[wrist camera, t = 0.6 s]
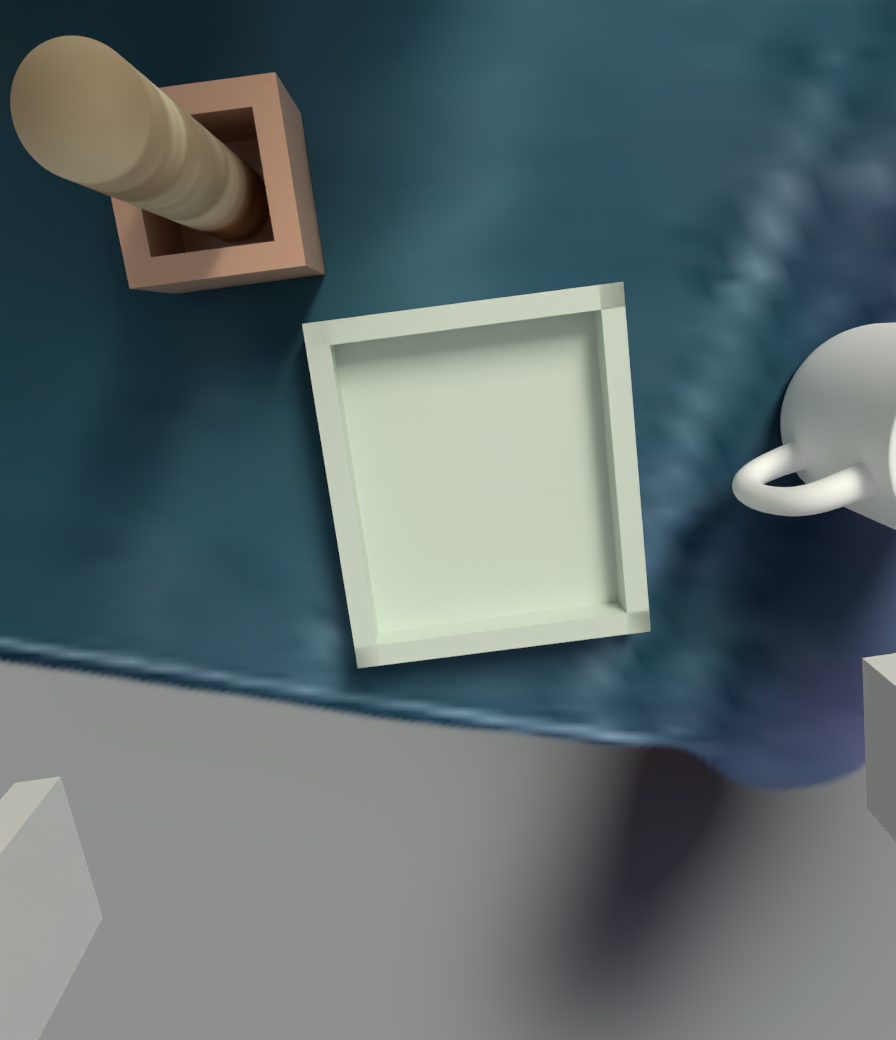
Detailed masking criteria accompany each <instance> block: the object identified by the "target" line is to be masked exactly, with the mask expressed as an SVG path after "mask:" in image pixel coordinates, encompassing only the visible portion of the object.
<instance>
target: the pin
mask: <svg viewBox="0 0 896 1040" xmlns="http://www.w3.org/2000/svg"><path fill="white" fill-rule="evenodd" d="M10 107H11V115H12V120H13V124H14V127H15V130H16V132H17V135H18V137H19V139H20V141H21V142H22V144H23V146H24V147H25V149H26V150H27V151H28V153H29V154H30V155H31V156H32V157H33V158H34V159H35V161H37V162H38V163H39V164H40V165H41V166H42V167H44V168H45V169H47V170H48V171H50V172H52V173H54V174H56V175H57V176H60V177H62V178H65V179H67V180H70V181H72V182H75V183H78V184H80V185H83V186H85V187H88V188H90V189H93V190H95V191H98V192H100V193H103V194H106V195H108V196H111V197H113V198H116V199H118V200H121V201H123V202H126V203H129V204H131V205H134V206H136V207H139V208H141V209H144V210H146V211H149V212H152V213H154V214H157V215H159V216H162V217H164V218H167V219H169V220H172V221H174V222H177V223H180V224H182V225H185V226H187V227H190V228H192V229H195V230H197V231H200V232H203V233H205V234H208V235H210V236H213V237H215V238H218V239H221V240H223V241H228V242H240V241H245V240H247V239H250V238H252V237H253V236H255V235H256V234H257V233H258V232H259V231H260V230H261V229H262V228H263V227H264V225H265V223H266V221H267V219H268V216H269V212H270V211H269V205H268V199H267V192H266V186H265V182H264V181H263V179H262V178H261V177H260V175H259V174H258V173H257V172H256V171H255V170H253V169H252V168H251V167H250V166H249V165H248V164H246V163H245V162H244V161H243V160H242V159H241V158H239V157H238V156H237V155H236V154H235V153H234V152H232V151H231V150H230V149H229V148H228V147H227V146H225V145H224V144H223V143H222V142H221V141H220V140H218V139H217V138H216V137H215V136H214V135H213V134H211V133H210V132H209V131H208V130H207V129H206V128H204V127H203V126H202V125H201V124H200V123H199V122H197V121H196V120H195V119H194V118H193V117H192V116H190V115H189V114H188V113H187V112H186V111H185V110H183V109H182V108H181V107H180V106H179V105H178V104H176V103H175V102H174V101H173V100H172V99H171V98H169V97H168V96H167V95H166V94H165V93H164V92H162V91H161V90H160V89H159V88H158V87H157V86H155V85H154V84H153V83H152V82H151V81H150V80H148V79H147V78H146V77H145V76H144V75H143V74H141V73H140V72H139V71H138V70H137V69H136V68H134V67H133V66H132V65H131V64H130V63H129V62H127V61H126V60H125V59H124V58H123V57H122V56H120V55H119V54H118V53H117V52H116V51H114V50H113V49H111V48H110V47H109V46H107V45H105V44H103V43H101V42H99V41H97V40H94V39H91V38H87V37H83V36H61V37H57V38H53V39H50V40H48V41H46V42H44V43H42V44H40V45H38V46H37V47H36V48H35V49H33V50H32V51H31V52H30V53H29V54H28V55H27V56H26V57H25V59H24V60H23V61H22V63H21V64H20V66H19V68H18V70H17V72H16V74H15V77H14V80H13V83H12V88H11V96H10Z"/></svg>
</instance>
